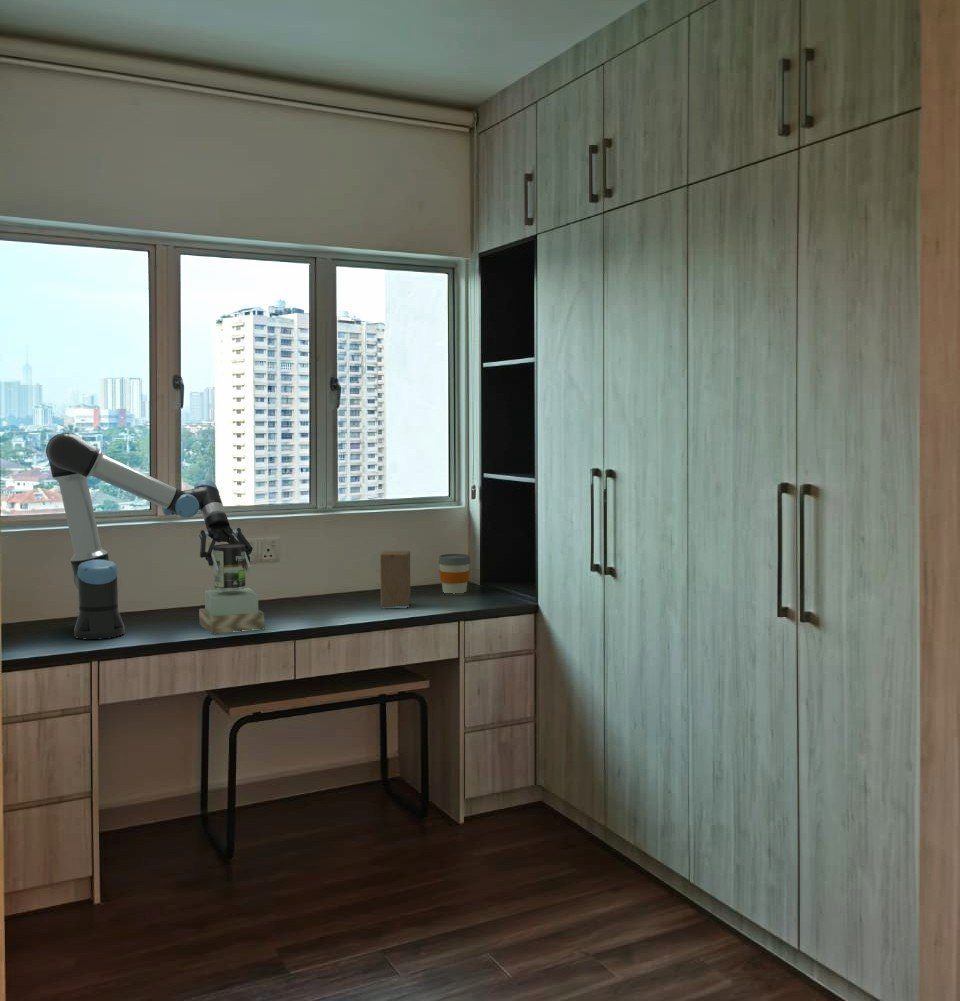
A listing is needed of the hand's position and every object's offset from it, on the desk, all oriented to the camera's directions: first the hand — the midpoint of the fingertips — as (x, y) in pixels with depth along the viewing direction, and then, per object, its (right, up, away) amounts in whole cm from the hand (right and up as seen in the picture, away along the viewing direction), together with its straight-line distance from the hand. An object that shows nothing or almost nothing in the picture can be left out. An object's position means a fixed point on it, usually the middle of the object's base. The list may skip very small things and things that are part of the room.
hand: (232, 571), depth 331 cm
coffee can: (-2, -6, +3) cm, 7 cm away
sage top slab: (-2, -13, +4) cm, 14 cm away
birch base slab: (-2, -19, +5) cm, 20 cm away
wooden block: (+50, -16, +41) cm, 67 cm away
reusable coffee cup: (+71, -14, +67) cm, 99 cm away
